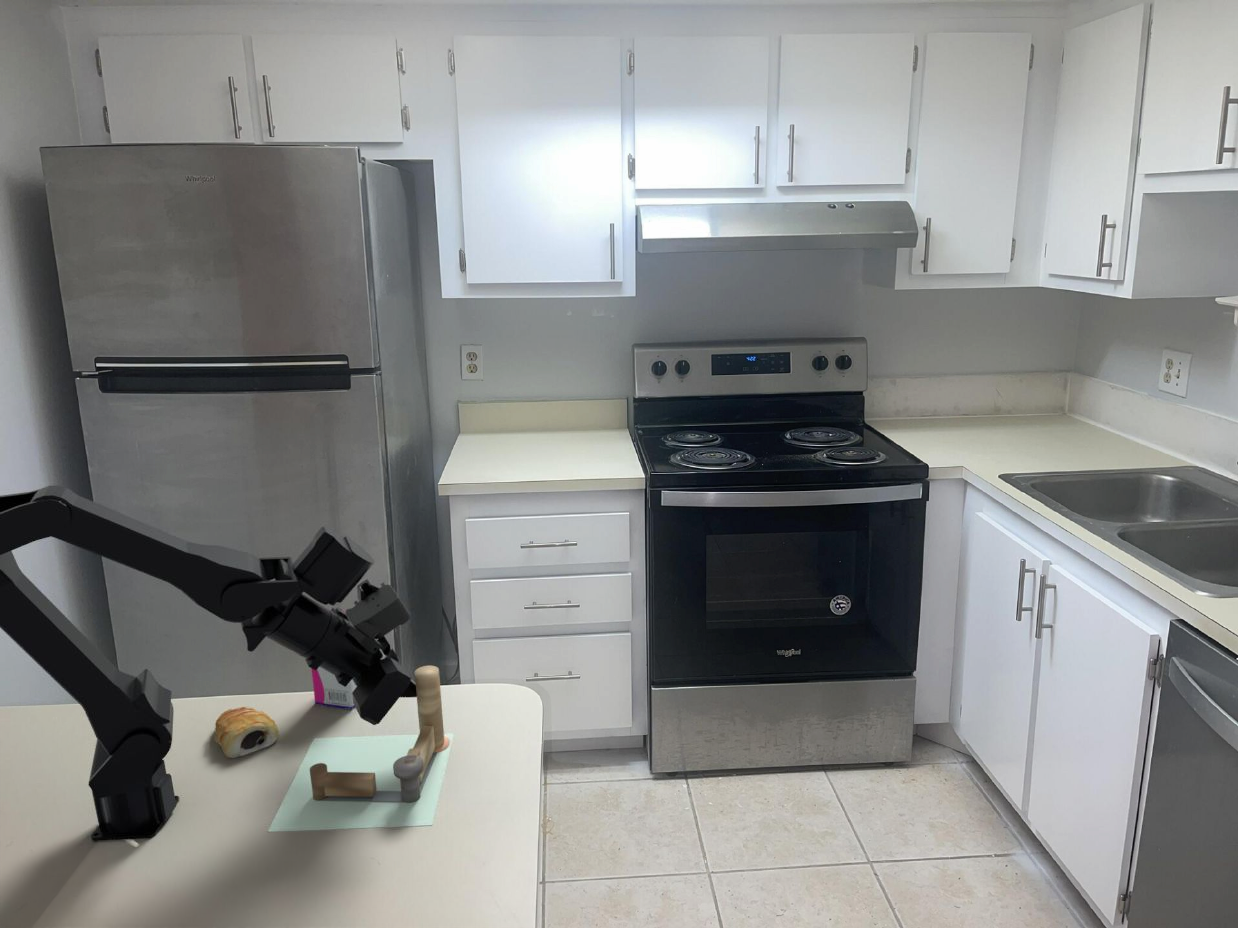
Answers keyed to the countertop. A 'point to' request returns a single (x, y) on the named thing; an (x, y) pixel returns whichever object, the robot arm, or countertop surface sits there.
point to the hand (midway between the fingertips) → (418, 692)
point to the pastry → (244, 731)
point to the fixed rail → (355, 784)
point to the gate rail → (424, 725)
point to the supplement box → (331, 690)
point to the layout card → (362, 811)
